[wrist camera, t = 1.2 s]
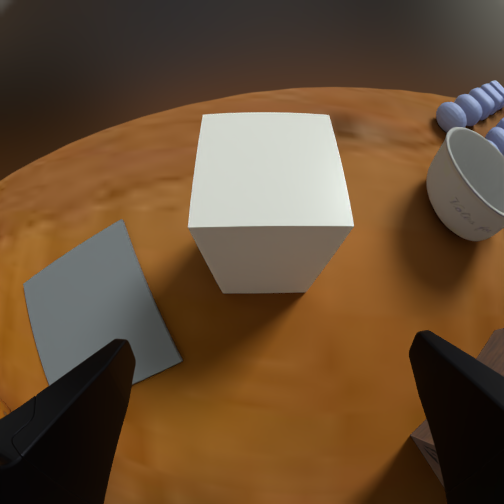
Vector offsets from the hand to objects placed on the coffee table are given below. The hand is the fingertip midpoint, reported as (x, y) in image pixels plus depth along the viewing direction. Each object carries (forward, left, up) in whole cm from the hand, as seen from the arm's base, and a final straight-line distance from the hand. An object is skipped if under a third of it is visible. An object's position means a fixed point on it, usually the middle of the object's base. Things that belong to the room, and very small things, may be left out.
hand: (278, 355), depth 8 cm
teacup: (+25, -9, -14) cm, 30 cm away
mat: (-9, +13, -14) cm, 21 cm away
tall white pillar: (+6, +5, -14) cm, 16 cm away
